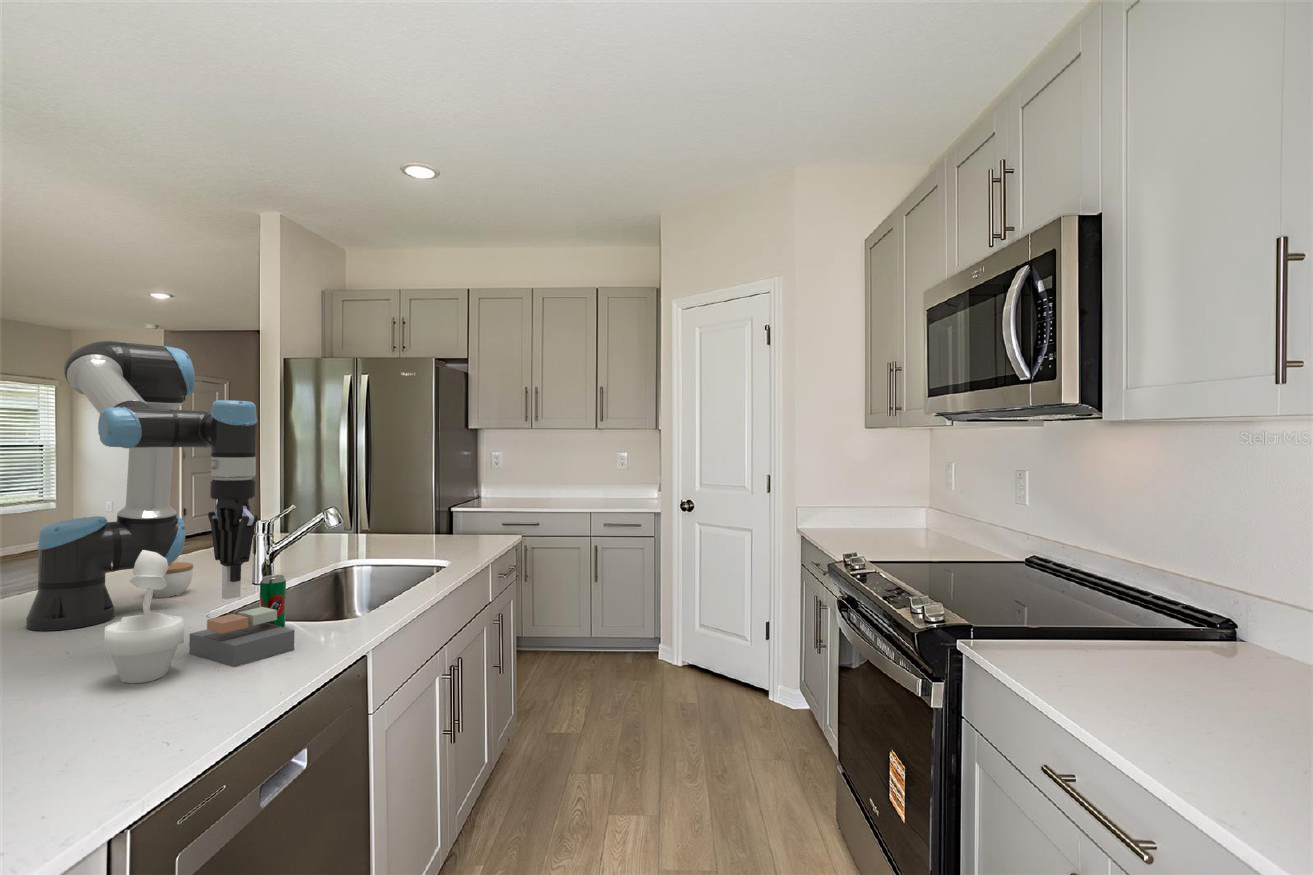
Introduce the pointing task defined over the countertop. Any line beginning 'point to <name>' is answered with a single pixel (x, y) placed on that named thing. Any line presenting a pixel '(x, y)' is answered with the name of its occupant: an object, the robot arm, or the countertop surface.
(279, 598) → the soda can
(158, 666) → the white floating cup sculpture
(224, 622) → the rust key
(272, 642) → the button panel
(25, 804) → the countertop surface
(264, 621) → the sage key
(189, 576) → the lidded jar
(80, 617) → the robot arm
